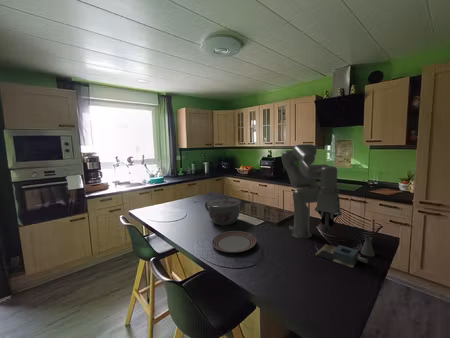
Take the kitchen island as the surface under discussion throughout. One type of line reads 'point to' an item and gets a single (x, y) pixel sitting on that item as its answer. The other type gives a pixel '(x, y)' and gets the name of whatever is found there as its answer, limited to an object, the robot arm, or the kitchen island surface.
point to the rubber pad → (326, 255)
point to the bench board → (330, 249)
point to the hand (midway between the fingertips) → (327, 224)
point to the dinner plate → (234, 241)
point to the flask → (367, 247)
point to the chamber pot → (223, 210)
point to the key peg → (327, 222)
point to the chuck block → (347, 255)
